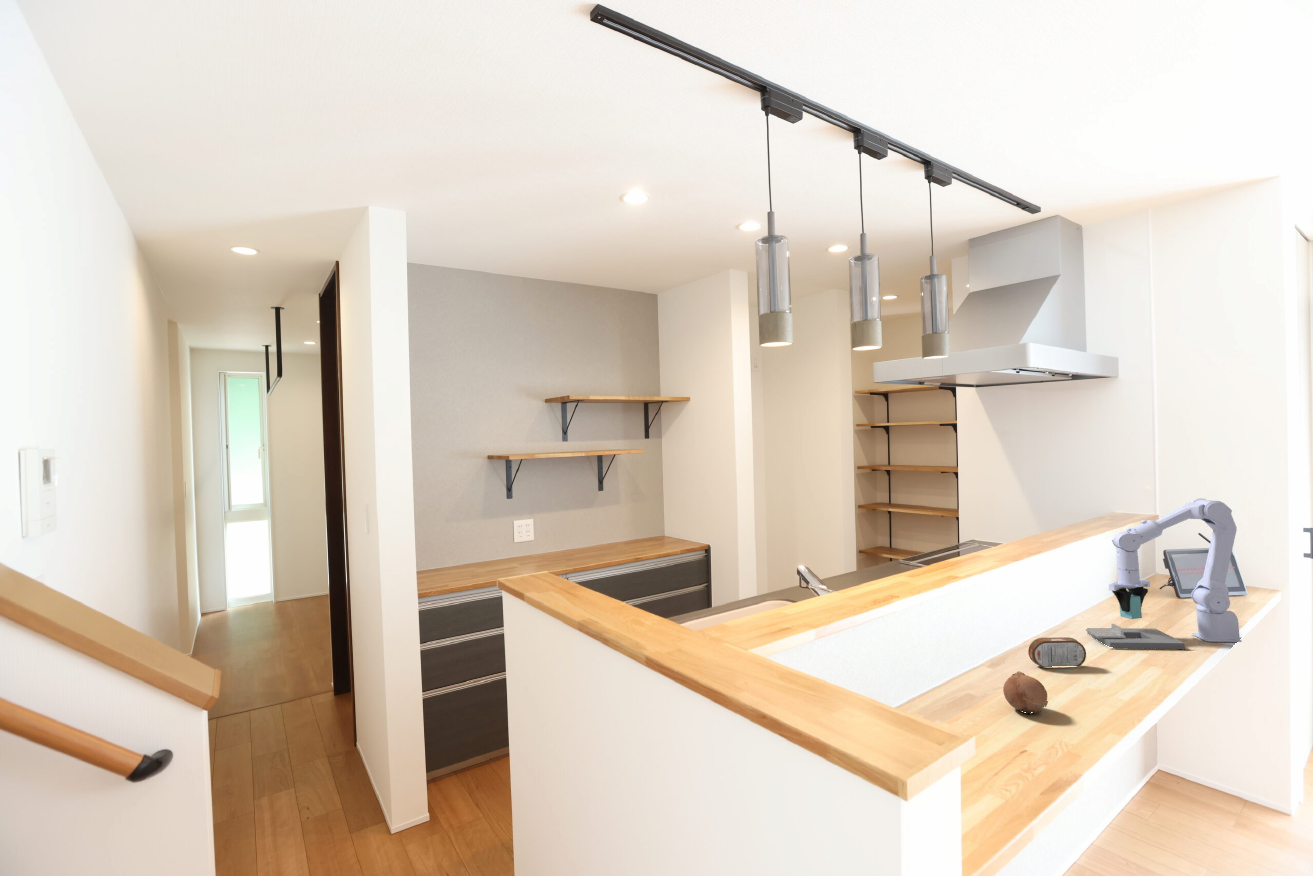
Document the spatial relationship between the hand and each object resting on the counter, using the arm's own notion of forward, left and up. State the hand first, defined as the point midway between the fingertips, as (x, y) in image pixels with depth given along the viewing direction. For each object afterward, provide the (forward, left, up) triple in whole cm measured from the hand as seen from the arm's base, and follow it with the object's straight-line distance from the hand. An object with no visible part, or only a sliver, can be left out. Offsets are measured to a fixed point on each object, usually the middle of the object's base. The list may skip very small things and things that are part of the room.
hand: (1131, 610), depth 207 cm
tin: (+33, +32, -9) cm, 47 cm away
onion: (+52, +65, -9) cm, 84 cm away
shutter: (+10, +6, -6) cm, 13 cm away
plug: (0, 0, -2) cm, 2 cm away
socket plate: (+2, +6, -8) cm, 10 cm away
